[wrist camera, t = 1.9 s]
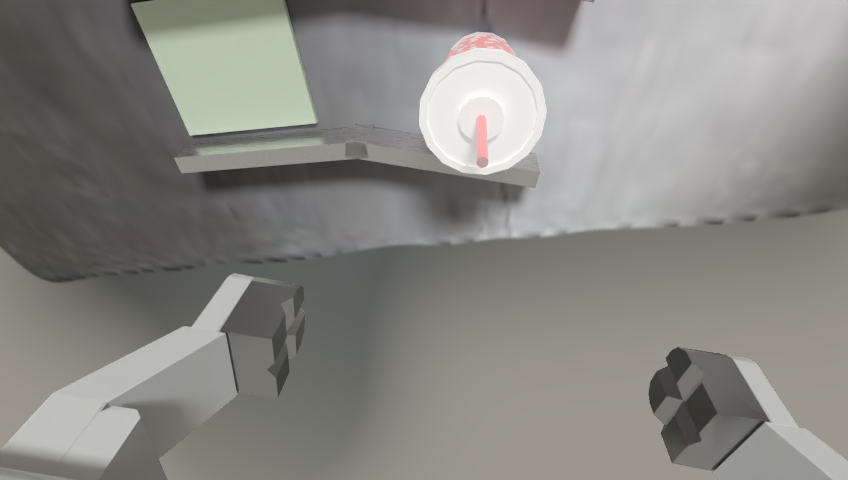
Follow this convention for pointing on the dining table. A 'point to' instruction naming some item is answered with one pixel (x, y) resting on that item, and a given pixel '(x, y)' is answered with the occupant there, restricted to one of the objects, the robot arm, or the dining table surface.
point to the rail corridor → (337, 152)
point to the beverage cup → (482, 107)
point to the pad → (228, 63)
